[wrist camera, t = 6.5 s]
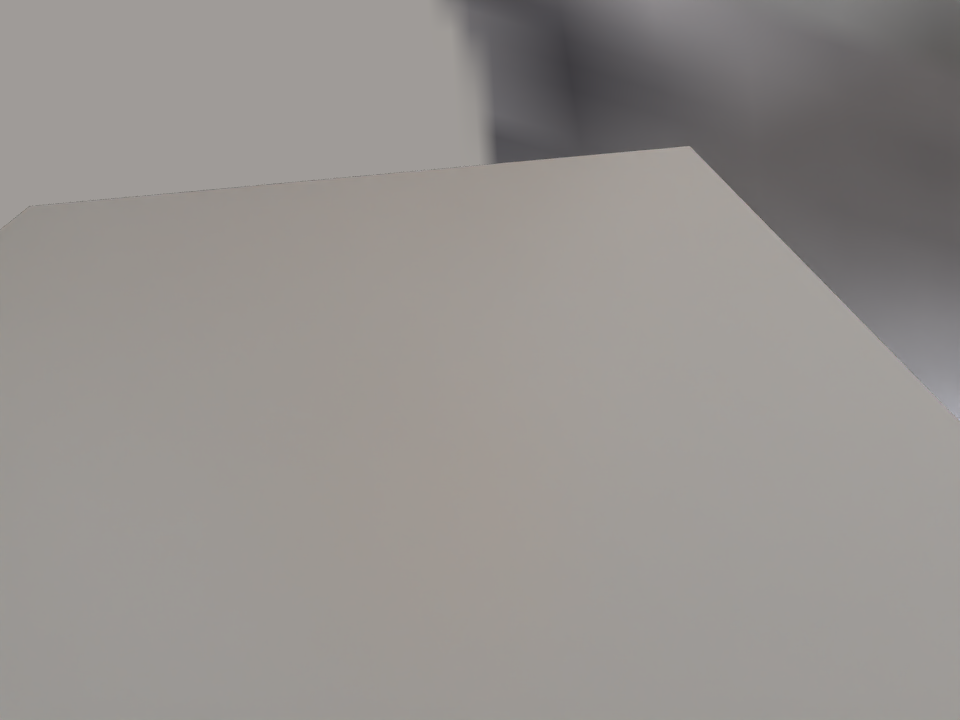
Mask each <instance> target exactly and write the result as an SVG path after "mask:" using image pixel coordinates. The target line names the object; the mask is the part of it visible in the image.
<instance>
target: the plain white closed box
mask: <svg viewBox="0 0 960 720" xmlns="http://www.w3.org/2000/svg"><path fill="white" fill-rule="evenodd" d="M0 720H960V421H959V420H958V419H957V418H956V417H955V416H954V415H953V414H952V413H951V412H950V411H949V410H948V409H947V408H946V407H945V406H944V405H943V404H942V403H941V402H940V401H939V400H938V399H937V398H936V397H935V396H934V395H933V394H932V393H931V392H930V390H929V389H928V388H927V387H926V386H925V385H924V384H923V383H922V382H921V381H920V380H919V379H918V378H917V377H916V376H915V375H914V374H913V373H912V372H911V371H910V370H909V369H908V368H907V367H906V366H905V365H904V364H903V363H902V362H901V361H900V360H899V359H898V358H897V357H896V356H895V355H894V354H893V353H892V352H891V351H890V350H889V349H888V348H887V347H886V346H885V345H884V344H883V343H882V342H881V341H880V340H879V338H878V337H877V336H876V335H875V334H874V333H873V332H872V331H871V330H870V329H869V328H868V327H867V326H866V325H865V324H864V323H863V322H862V321H861V320H860V319H859V318H858V317H857V316H856V315H855V314H854V313H853V312H852V311H851V310H850V309H849V308H848V307H847V306H846V305H845V304H844V303H843V302H842V301H841V300H840V299H839V298H838V297H837V296H836V295H835V294H834V293H833V292H832V291H831V290H830V289H829V287H828V286H827V285H826V284H825V283H824V282H823V281H822V280H821V279H820V278H819V277H818V276H817V275H816V274H815V273H814V272H813V271H812V270H811V269H810V268H809V267H808V266H807V265H806V264H805V263H804V262H803V261H802V260H801V259H800V258H799V257H798V256H797V255H796V254H795V253H794V252H793V251H792V250H791V249H790V248H789V247H788V246H787V245H786V244H785V243H784V242H783V241H782V240H781V239H780V238H779V237H778V235H777V234H776V233H775V232H774V231H773V230H772V229H771V228H770V227H769V226H768V225H767V224H766V223H765V222H764V221H763V220H762V219H761V218H760V217H759V216H758V215H757V214H756V213H755V212H754V211H753V210H752V209H751V208H750V207H749V206H748V205H747V204H746V203H745V202H744V201H743V200H742V199H741V198H740V197H739V196H738V195H737V194H736V193H735V192H734V191H733V190H732V189H731V188H730V187H729V186H728V185H727V183H726V182H725V181H724V180H723V179H722V178H721V177H720V176H719V175H718V174H717V173H716V172H715V171H714V170H713V169H712V168H711V167H710V166H709V165H708V164H707V163H706V162H705V161H704V160H703V159H702V158H701V157H700V156H699V155H698V154H697V153H696V152H695V151H694V150H693V149H692V148H691V147H690V146H685V147H674V148H663V149H652V150H641V151H630V152H619V153H608V154H597V155H586V156H575V157H564V158H553V159H542V160H531V161H520V162H509V163H498V164H487V165H476V166H465V167H454V168H444V169H433V170H421V171H411V172H399V173H388V174H377V175H368V176H367V175H366V176H357V177H356V176H355V177H345V178H334V179H323V180H312V181H300V182H290V183H279V184H267V185H256V186H245V187H235V188H224V189H212V190H202V191H191V192H180V193H169V194H158V195H147V196H136V197H125V198H114V199H103V200H92V201H81V202H70V203H60V204H48V205H37V206H29V207H28V208H26V209H25V210H24V211H23V212H22V213H20V214H19V215H18V216H17V217H15V218H14V219H13V220H12V221H10V222H9V223H8V224H7V225H6V226H4V227H3V228H2V229H0Z"/></svg>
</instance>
